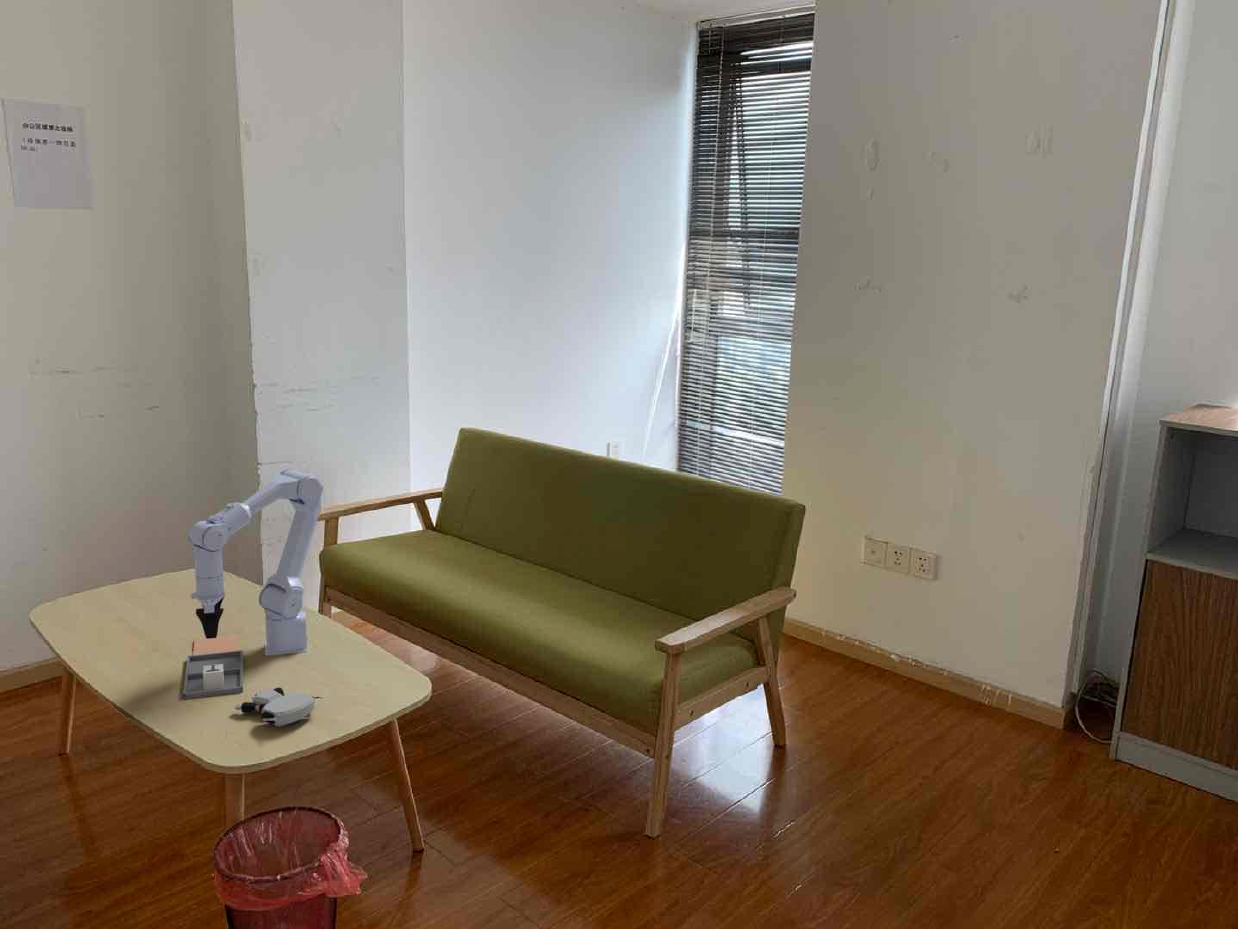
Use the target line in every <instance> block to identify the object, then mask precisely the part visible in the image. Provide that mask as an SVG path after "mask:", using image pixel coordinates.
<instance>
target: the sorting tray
mask: <svg viewBox="0 0 1238 929" xmlns="http://www.w3.org/2000/svg"><path fill="white" fill-rule="evenodd" d="M218 664H223V673H224V688H221V689H212V690H204V683H203V667H204V666H208V665H218ZM182 691H183V692H182V699H183V700H188V699H196V698H198V699H199V698H204V697H212V696H221V695H230V694H240V693H243V692H244V652H243V650H238V651H231V652H221V653H211V654H201V655H193V654H192V655H187V658H186V668H185V673H184V681H183V690H182Z"/></svg>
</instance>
